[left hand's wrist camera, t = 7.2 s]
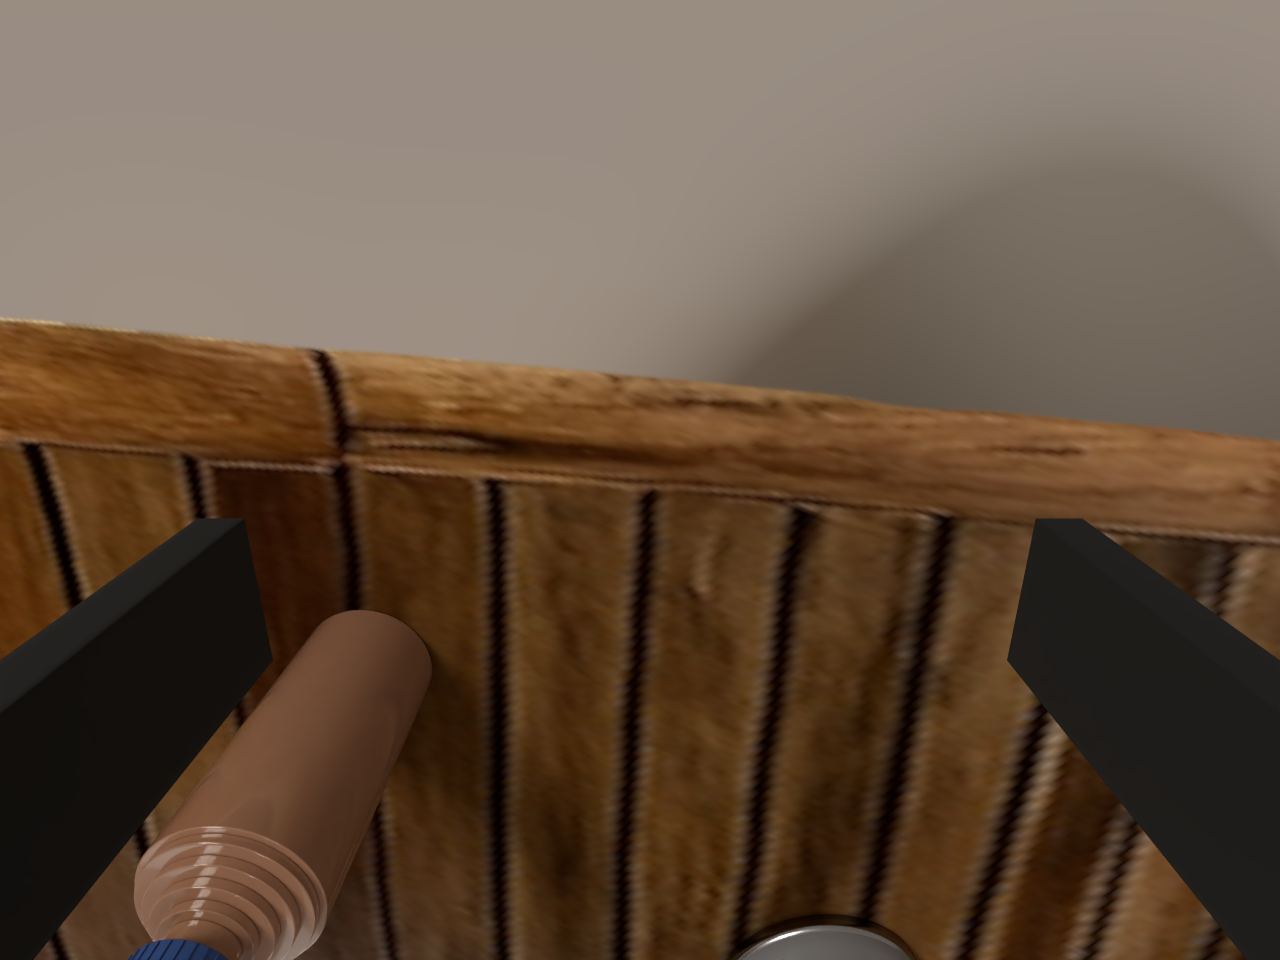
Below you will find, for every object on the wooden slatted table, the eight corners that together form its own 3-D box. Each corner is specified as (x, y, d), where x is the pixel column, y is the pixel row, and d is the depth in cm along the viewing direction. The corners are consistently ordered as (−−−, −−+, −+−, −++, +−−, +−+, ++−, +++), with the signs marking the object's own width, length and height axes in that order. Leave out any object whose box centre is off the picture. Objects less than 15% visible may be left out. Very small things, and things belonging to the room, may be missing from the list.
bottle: (444, 709, 47) (303, 1076, 27) (325, 722, 48) (100, 1093, 28) (416, 602, 45) (236, 923, 25) (289, 617, 45) (12, 945, 25)
